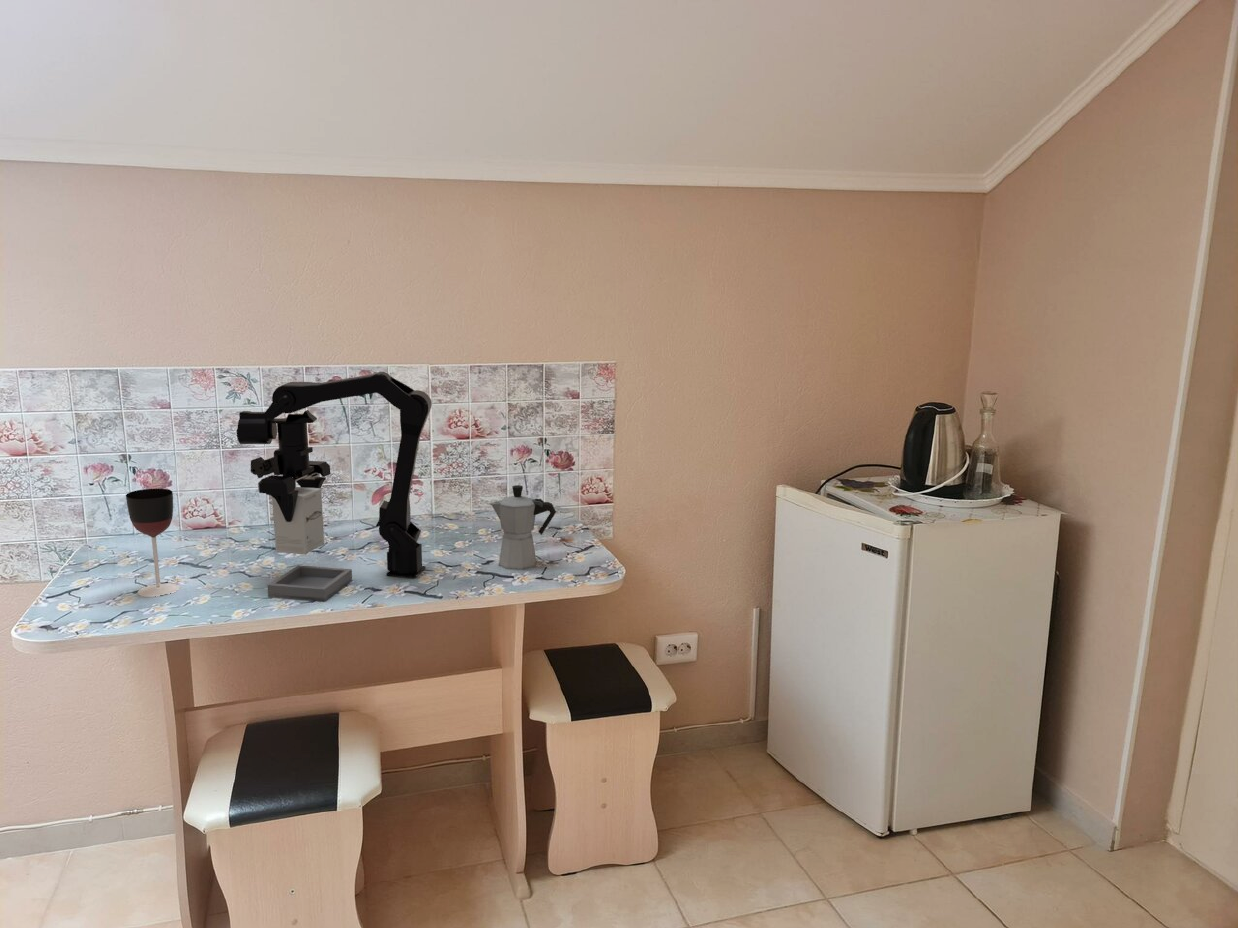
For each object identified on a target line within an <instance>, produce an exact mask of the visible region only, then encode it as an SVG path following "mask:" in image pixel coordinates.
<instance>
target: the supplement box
mask: <svg viewBox="0 0 1238 928" xmlns="http://www.w3.org/2000/svg"><path fill="white" fill-rule="evenodd" d="M295 490H298V491H299V492H298V496H297V501H296V505H295V510H294V515H293V518H292V521H291V522H286V520H285V518H284V516H283V514H282V511H281V509H280V507H279V505H278V503H277V501H276V500H275V498H273V497H272V496H271V502H272V504H271V505H272V516H273V518H272V519H273V528H274V530H273V531H274V543H275V544H274V545H275V552H276V553H283V554H293V555H308V554H309V553H311V552H312V551H314V550H317V549H318V548H319V547H322V546H323V545H325V533H324V532H325V531H324V529H325V528H324V513H323V500H322V499H323V497H322V488H321V489H320V488H305V487H300V486H296V487H295Z"/></svg>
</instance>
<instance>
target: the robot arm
mask: <svg viewBox="0 0 1238 928" xmlns="http://www.w3.org/2000/svg"><path fill="white" fill-rule="evenodd" d="M370 394H378V395H380V396H381V397H382V398H384V399H385V400H386V401H387V402H388V403H390V404H391V405H392V406H393V407H395V408H396V409H398V410H399V424H400V433H401V436H400V442H399V447H398V451H397V459H396V463H395V470H394V477H393V481H392V486H391V487H392V488H391V492H390V497H389V500H382V501H383V502H382V503H381V504H380V507H379V509H378V510H379V511H378V512H379V513H378V514H379V517H378V521H377V523H376V524H375V526H376V527H378V532H379V535H380V537H381V538H382V539H383V540H384V541H385V542H387V543H388V551H387V552H386V567H387V568H386V569H387V572H386V576H388V577H400V578H413V579H414V578H417V577H418V576H419V575H420V573H422V572H423V571H424V570H425V569H426V566H425V565H423V549H422V544H423V543H419V542H418V540H419V538H420V535H421V533H422V530H421V529H420V528H419V527H418V526H417V525H416V524H414V523H413V522H412V521H411V517H412V515H411V501H410V495H411V490H412V483H413V479H414V472H415V467H416V462H417V455H418V451H419V445H420V439H421V436H422V432H423V429H424V427H425V425H426V422H427V419H428V418H429V415H430V412H431V409H432V405H433V404H432V398H431V397H430V396H429V394H428V393H426V392H425V391H422V390H420V389H419V390H415V389H413V388H412V387H410V386H409V385H407V384H405V383H403V382H402V381H400V380H397V379H395V378H394V377H392V376H391V375H390V374H389V373H388V372H385V371H378V372H376V373H372V374H366V375H360V376H354V377H349V378H341V379H335V380H329V381H324V382H311V381H290V382H286V383H284V384H282V385H280V386H278V387H276V388H275V389H274V391H273V393H272V396H271V401H272V402H271V404H270V405H269V407H268V408H267V409H266V410H265V411H249V410H242V411H240V412H239V413H238V414H239V416H238V417H239V418H238V421H237V428H236V438H237V441H238V443H239V444H240V445H270V444H271V443H272V441H273V440H276V439H278V440H277V441H278V449H275V450H274V451H273V457H269V458H266V459H264V458H263V457H261V456H259V457H257V458H254V459H251V460H250V473H251V474H253V475H254V476H257V479H260V481H258V483H257V486H258V493H259V494H265V495H267V496H271V498H272V497H273V498H275V500H276V501H277V503H278V505H279V507H280V509H281V511H282V514H283V516H284V518H285V520H286V522H291V521H292V518H293V515H294V510H295V505H296V501H297V496H298V492H299V491H298V490H295V487H297V485H299V486H298V487H305V488H320V489H321V490H322V487H323V485H324V483H325V481H326V479H327V476H329V475H331V465H330V464H329V463H328V462H327V461H320V460H319V461H318V460H310V454H311V453H313V452H314V451H313V449H314V448H313V446H309V437H308V435H309V434H308V424H313V423H315V422H316V421H317V420H318V418H317V416H315V415H314V414H313V413H311V411H310V410H308V409H307V410H305V411H304V412H303V413H295V412H298V411H301V410H304V409H306V408H309V407H312V406H314V405H317V404H320V403H322V402H327V401H328V402H330V401H334V400H340V399H346V398H351V397H357V396H365V395H370ZM282 414H283V415H284V414H288V415H287V416H286V417H285V418H284V417H282V418H281V417H280V418H278V417H279V416H281V415H282ZM270 474H271V475H270ZM272 474H273V475H272ZM264 476H266V477H264ZM263 477H264V478H263ZM261 478H262V479H261ZM296 483H297V485H296Z"/></svg>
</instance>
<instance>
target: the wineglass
mask: <svg viewBox="0 0 1238 928" xmlns="http://www.w3.org/2000/svg"><path fill="white" fill-rule="evenodd" d="M125 499H126V506H127V512H128V515H129V519H130V522H131V525H133V527H134V528H135V529H136V531H137V532H139V533H141V534H144V535H145V536H146V535H147V536H148V537H151V545H152V555H153V556H152V557H153V566H154V575H155V577H154V578H155V584H151V585H148V586H145V587H143V588H140V589H139V590H138V591H137V595H138V596H140V597H144V598H156V597H157V598H158V597H161V596H160V595H164V594H168V595H171V594H173V593H175V592H178V591H179V590H180V589H181V588H180V585H178V584H175V583H170V582H169V583H161V576H160V566H159V555H158V546H157V545H158V543H157V536H159V535H160V534H162V533H164V532H165V531H167V529H168V528H169V527H170V526H171V523H172V521H173V515H174V495H173V491H172V490H171V489H168V488H144V489H143V488H142V489H137V490H133V491H130V492H128V493H126V494H125ZM177 590H178V591H177ZM170 593H171V594H170ZM155 596H156V597H155ZM164 596H165V595H164Z"/></svg>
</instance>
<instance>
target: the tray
mask: <svg viewBox="0 0 1238 928" xmlns="http://www.w3.org/2000/svg"><path fill="white" fill-rule="evenodd" d="M351 582H353V570H352V569H351V568H339V567H328V566H327V567H325V566H313V565H312V566H311V565H299V564H298V565H297V566H294V567H293V568H291V569H290V570H289V571H287V572H285V573H284V574H282V575H281V576H279V577H277V578H276V579H274V580H272V581H271V582H270V583H268V584H267V597H268V598H279V599H293V600H303V601H304V600H305V601H318V602H327V601H328V600H329V599H330V598H331V597H333V596H334V595H335V594H337V593H338V592H339V591H340V590H342V589H343V588H345V587H346V586H347V585H349V584H350V583H351Z"/></svg>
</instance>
